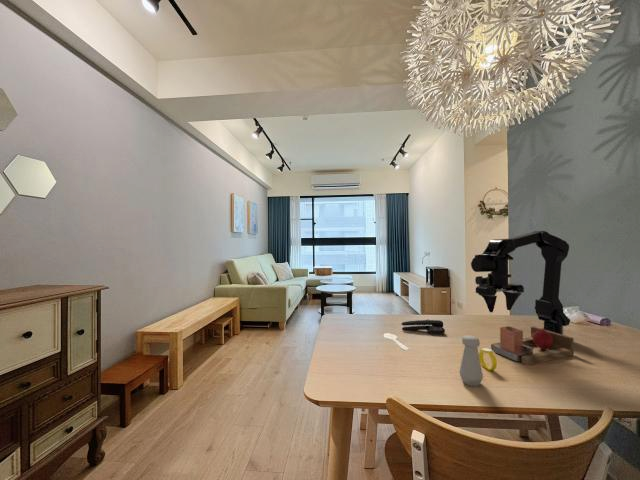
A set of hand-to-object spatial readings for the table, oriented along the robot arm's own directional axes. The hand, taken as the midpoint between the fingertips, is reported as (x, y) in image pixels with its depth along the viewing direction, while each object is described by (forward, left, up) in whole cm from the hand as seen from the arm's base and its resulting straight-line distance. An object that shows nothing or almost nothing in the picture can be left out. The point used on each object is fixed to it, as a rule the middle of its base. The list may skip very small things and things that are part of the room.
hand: (499, 311), depth 107 cm
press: (+8, +11, -12) cm, 18 cm away
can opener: (+21, -20, -12) cm, 31 cm away
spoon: (+38, -14, -12) cm, 42 cm away
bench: (-1, +11, -12) cm, 16 cm away
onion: (-7, +11, -12) cm, 18 cm away
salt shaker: (+36, +20, -12) cm, 43 cm away
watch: (+24, +15, -12) cm, 31 cm away
